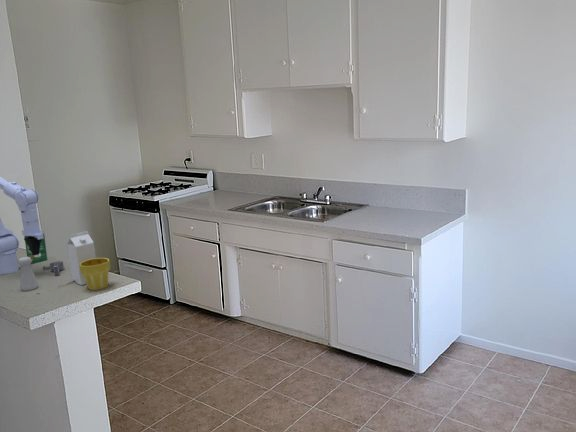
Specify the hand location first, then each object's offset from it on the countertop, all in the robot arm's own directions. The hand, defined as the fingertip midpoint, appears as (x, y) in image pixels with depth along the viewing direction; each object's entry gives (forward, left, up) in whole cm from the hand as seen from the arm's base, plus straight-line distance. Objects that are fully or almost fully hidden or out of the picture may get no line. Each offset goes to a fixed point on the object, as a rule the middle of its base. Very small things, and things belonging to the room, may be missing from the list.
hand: (35, 254), depth 212 cm
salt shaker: (+16, -10, -10) cm, 21 cm away
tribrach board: (+1, +3, -9) cm, 10 cm away
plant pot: (+34, +7, -10) cm, 36 cm away
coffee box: (-22, +9, -10) cm, 26 cm away
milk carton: (+23, +8, -10) cm, 26 cm away
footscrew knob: (+4, +5, -8) cm, 11 cm away
